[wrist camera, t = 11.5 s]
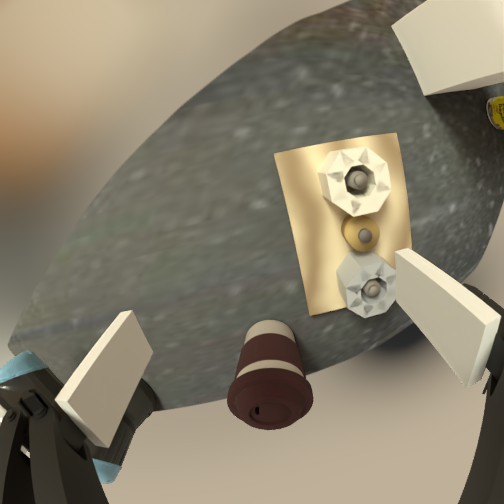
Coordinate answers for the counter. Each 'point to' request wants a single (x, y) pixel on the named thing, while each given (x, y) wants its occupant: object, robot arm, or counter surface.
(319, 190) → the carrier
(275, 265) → the counter surface
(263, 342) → the coffee cup
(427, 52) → the milk
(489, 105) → the supplement bottle
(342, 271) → the seated gear
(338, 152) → the white octagonal block
